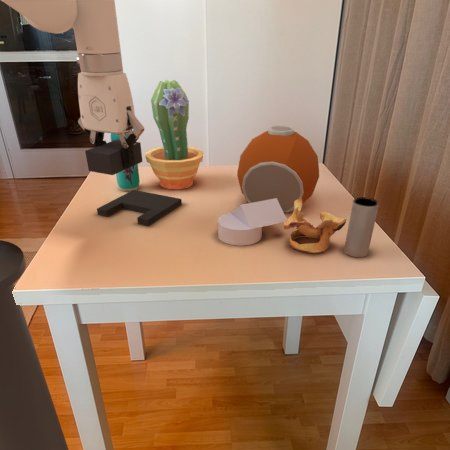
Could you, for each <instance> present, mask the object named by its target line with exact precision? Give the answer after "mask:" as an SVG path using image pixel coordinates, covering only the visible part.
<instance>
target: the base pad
mask: <svg viewBox="0 0 450 450" xmlns="http://www.w3.org/2000/svg"><path fill="white" fill-rule="evenodd" d="M182 201H183V200H182V198H179V197H173V196H168V195H163V194H158V193H152V192H148V191H143V190H139V189H137V190H132V191H127V192H126V193H124V194H123V195H121V196H118V197H117V198H115V199H112V200H111V201H109V202H106V203H105V204H102V205H101V206H99V207H97V208H96V212H97V213H96V214H97V216H102V217H106V218H108V217H110V216H112V215H113V214H115V213H117V212H119V211H121V210H122V209H123V210H127V211H132V212H135V213H136V212H137V213H140V214H141V215H139V216H137V217H136V220H137V224H138V225H141V226H144V227H150V226H151V225H153V224H154V223H156V222H158V221H159V220H160V219H162V218H163V217H165V216H167V215H169V214H170V213H171V212H173V211H174V210H176V209H178V208H180V207H181V206H182V205H183V202H182Z"/></svg>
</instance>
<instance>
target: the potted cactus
mask: <svg viewBox="0 0 450 450" xmlns="http://www.w3.org/2000/svg"><path fill="white" fill-rule="evenodd" d="M150 103H151V110H152V118H153V120H154V122H155V124H156V126H157V128H158V131H159V134H160V138H161V139H160V140H161V143H162V146H161V147H155V148H153V149H150V150H148V151H146V153H145V155H144V158H145V160H146V162H147V163H148V164H149V165H150V167H151V170H152V172H153V174H154V175H155V176H156V177H157V179H158V180H159V181H160V182H159V186H160V187H162V188H163V189H168V190H182V189H188V188H190V187H191V186H193V185H194V184H193V183H194V182H193V180H194V178H195V176H196V175H197V174H198V170H199V167H200V164H201V163H202V162H203V159H204V151H203V150H201V149H200V148H197V147H192V146H189V145H188V133H187V127H188V123H189V118H190V116H189V115H190V113H189V112H190V110H189V109H190V108H189V107H190V100H189V97H188V96H187V94H186V92H185V91H184V89H183V88H182V86H181V85H180V83H179V82H178V81H177V80H176V79H173V80H171V81H170V80H169V79H165V80H164V81H162V80H159V82H158V84H157V86H156V88H155V90H154V92H153V94H152V96H151V98H150Z"/></svg>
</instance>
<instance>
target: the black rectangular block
mask: <svg viewBox="0 0 450 450" xmlns="http://www.w3.org/2000/svg"><path fill="white" fill-rule="evenodd" d="M122 147H123V146H122V143H121V141H120V140H119V139H117V140H114V141H111V140H110V141H108V142H106V144H103V145H100V146H97V147H94V146H93V147H91V148H89V149H86V150H85V151H84V152H85V157H86V164H87V170H88V172H90V173H91V172H92V173H98V174H103V175H108V176H109V175H110V176H114V175H116V173H119V172H121V171H123V170H125V169H126V168H124V167H123V163H122V155H121V148H122ZM133 149H134V157H135V165H136V164H138V165H139V164H141V163H143V154H142V144H141V142H140V141H136V144H135V145H133ZM133 166H134V165H133ZM131 167H132V166H131ZM129 168H130V167H129ZM127 169H128V168H127Z"/></svg>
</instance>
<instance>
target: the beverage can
mask: <svg viewBox="0 0 450 450" xmlns="http://www.w3.org/2000/svg"><path fill="white" fill-rule="evenodd" d="M131 132H133V129H131ZM124 134H125V133H124ZM125 137H126V139H127V136H126V134H125ZM117 139H119V136H118V134H112V133H110V142H111V141H114V140H117ZM119 140H120V139H119ZM138 165H139V164H136V165H134V166H132V167H130V168H128V169H125V170H123V171H121V172H119V173H116V174H115V177H116V184H117V185H118V188H119V190H120V191H122V192H130V191H132V190H139V189H138V188H139V187H140V173H139V171H140V170H139V166H138Z"/></svg>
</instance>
